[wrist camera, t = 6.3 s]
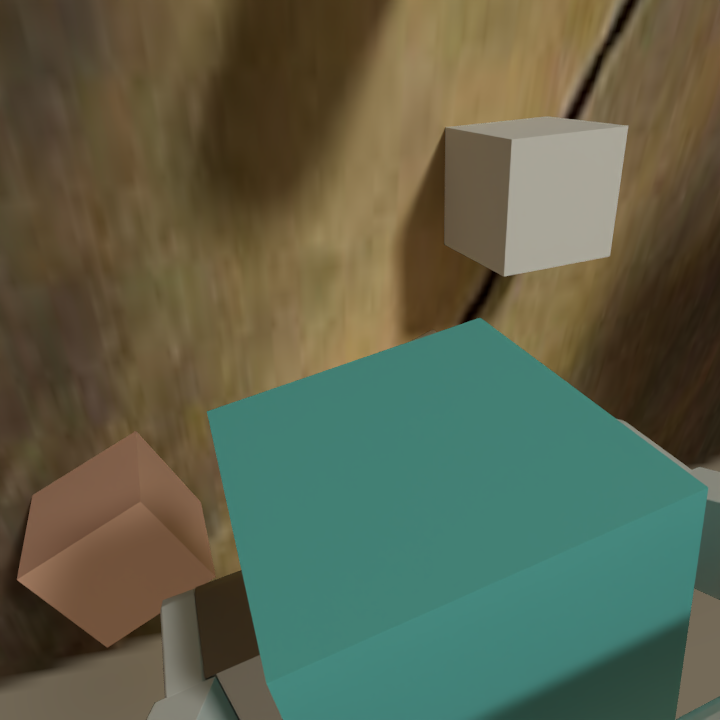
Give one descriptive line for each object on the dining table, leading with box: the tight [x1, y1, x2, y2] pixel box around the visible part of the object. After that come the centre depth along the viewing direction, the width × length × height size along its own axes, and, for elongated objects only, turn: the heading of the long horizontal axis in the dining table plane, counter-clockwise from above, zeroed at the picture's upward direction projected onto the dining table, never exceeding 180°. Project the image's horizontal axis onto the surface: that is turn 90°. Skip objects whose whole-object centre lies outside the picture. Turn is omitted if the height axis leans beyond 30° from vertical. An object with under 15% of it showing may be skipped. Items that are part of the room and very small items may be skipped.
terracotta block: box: [17, 431, 216, 648], centre depth 25 cm, size 5×5×5 cm
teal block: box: [207, 318, 708, 720], centre depth 9 cm, size 5×5×5 cm
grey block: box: [444, 117, 628, 276], centre depth 25 cm, size 5×5×5 cm
